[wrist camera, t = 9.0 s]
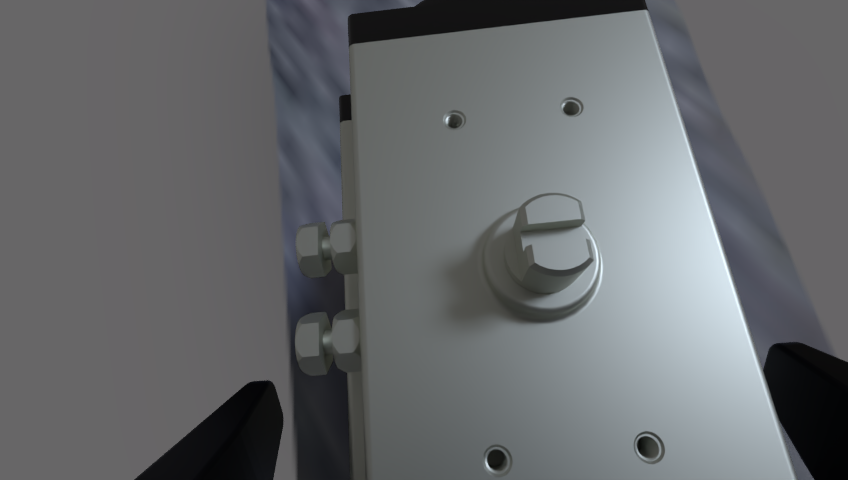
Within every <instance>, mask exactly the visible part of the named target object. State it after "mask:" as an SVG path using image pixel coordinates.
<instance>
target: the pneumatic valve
mask: <svg viewBox="0 0 848 480" xmlns="http://www.w3.org/2000/svg"><path fill="white" fill-rule="evenodd" d="M348 37H349V63H350V89H351V95H343V96H340V98H339V108H340V143H341V178H342V213H343V220H340V221H336V222H333V223H332V225H331V229H330V237H329V235H328V232H327V229H326V225H325V222H319V223H310V224H305V225H302V226H300V227H299V228H298V230H297V234H296V254H297V260H298V264H299V267H300V270H301V272H302V273H303V275H305V276H307V277H309V278H317V277H325V276H326V275H327V274H328V273H329V272H330V271H331V260H333V264H334V267H335V269H336V271H337V272H338V273H340V274H343V275H344V283H345V310H343V311H341V312H339V313H337V314H336V315H335V316H334V319H333V323H332V328H331V325H330V322H329V319H328V317H327V314H326V312H318V313H310V314H307V315H305V316H303V317H302V318H300V319H299V321H298V323H297V327H296V333H295V351H296V358H297V362H298V365H299V368H300V369H301V371H302V372H304V373H306V374H308V375H310V376H317V375H327V373H328V371H329V369H330V366H331V364H332V362H333V356H334V360H335V363H336V366H337V368H338V369H340V370H342V371H344V372H346V373H347V388H348V423H349V458H350V480H798V478H797V475H796V472H795V469H794V466H793V463H792V459H791V456H790V453H789V450H788V447H787V444H786V441H785V438H784V434H783V431H782V428H781V425H780V422H779V419H778V416H777V412H776V409H775V406H774V403H773V400H772V397H771V394H770V391H769V387H768V384H767V381H766V378H765V375H764V372H763V369H762V365H761V362H760V359H759V356H758V353H757V350H756V347H755V344H754V340H753V337H752V334H751V331H750V328H749V325H748V322H747V319H746V315H745V312H744V309H743V306H742V303H741V300H740V297H739V293H738V290H737V287H736V284H735V281H734V278H733V275H732V272H731V268H730V265H729V262H728V259H727V256H726V253H725V250H724V247H723V243H722V240H721V237H720V234H719V231H718V228H717V225H716V221H715V218H714V215H713V212H712V209H711V206H710V203H709V200H708V196H707V193H706V190H705V187H704V184H703V181H702V178H701V174H700V171H699V168H698V165H697V162H696V159H695V156H694V153H693V149H692V146H691V143H690V140H689V137H688V134H687V131H686V128H685V124H684V121H683V118H682V115H681V112H680V109H679V106H678V102H677V99H676V96H675V93H674V90H673V87H672V84H671V81H670V77H669V74H668V71H667V68H666V65H665V62H664V59H663V55H662V52H661V49H660V46H659V43H658V40H657V37H656V34H655V30H654V27H653V24H652V21H651V18H650V15H649V12H648V9H647V5H646V2H645V0H424V1H422V2H420V3H419V4H417V5H416V6H415V7H408V8H399V9H391V10H383V11H374V12H366V13H358V14H351V15H350V16H349V17H348Z"/></svg>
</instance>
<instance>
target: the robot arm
mask: <svg viewBox="0 0 848 480" xmlns="http://www.w3.org/2000/svg"><path fill="white" fill-rule="evenodd" d="M763 372H764V375H765V378H766V381H767V384H768V387H769V391H770V394H771V397H772V400H773V403H774V406H775V409H776V412H777V416H778V419H779V421H780V422H781V424H782V426H783V428H784V429H785V431H786V433H787V434H788V436H789V438H790V440H791V441H792V443H793V445H794V447H795V448H796V450H797V452H798V453H799V455H800V457H801V459H802V460H803V462H804V464H805V465H806V467H807V468H808V470H809V472H810V473H811V475H812V476H813V478H814V479H815V480H848V362H846V361H843V360H841V359H839V358H836V357H834V356H831V355H829V354H827V353H824V352H822V351H820V350H817V349H815V348H812V347H810V346H808V345H805V344H803V343H799V342H788V343H777V344H774V345H772V346H771V347H770V349H769V351H768V355H767V358H766V362H765V366H764V369H763ZM282 429H283V412H282V409H281V406H280V402H279V399H278V395H277V392H276V389H275V386H274V384H273V383H272V382H271V381H268V380H267V381H254V382H250V383H248V384H247V385H245V386H244V387H243V388H241V389H240V390H239V391H238V392H237V393H236V394H234V395H233V396H232V397H231V398H230V399H229V400H227V401H226V402H225V403H224V404H223V405H221V406H220V407H219V408H218V409H217V410H216V411H214V412H213V413H212V414H211V415H210V416H209V417H207V418H206V419H205V420H204V421H203V422H201V423H200V424H199V425H198V426H197V427H196V428H194V429H193V430H192V431H191V432H190V433H189V434H187V435H186V436H185V437H184V438H183V439H182V440H180V441H179V442H178V443H177V444H176V445H174V446H173V447H172V448H171V449H170V450H169V451H168V452H166V453H165V454H164V455H163V456H162V457H160V458H159V459H158V460H157V461H156V462H155V463H153V464H152V465H151V466H150V467H149V468H147V469H146V470H145V471H144V472H143V473H142V474H140V475H139V476H138V477H137V478H136V479H135V480H273V477H274V472H275V466H276V460H277V456H278V450H279V445H280V439H281V434H282Z"/></svg>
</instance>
